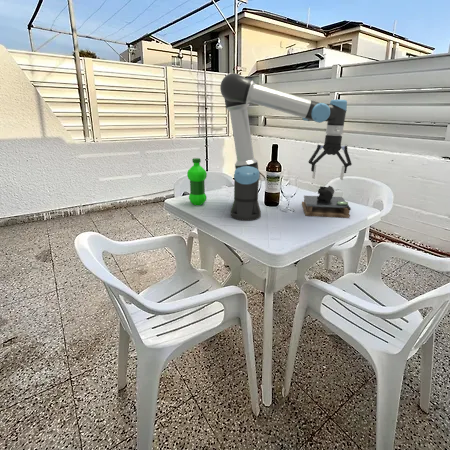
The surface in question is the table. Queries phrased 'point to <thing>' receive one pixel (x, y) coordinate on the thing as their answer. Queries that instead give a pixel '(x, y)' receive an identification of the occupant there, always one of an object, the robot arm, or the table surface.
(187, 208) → the table surface
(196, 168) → the plastic bottle
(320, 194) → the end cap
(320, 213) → the walnut stand
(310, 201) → the tilting plate
